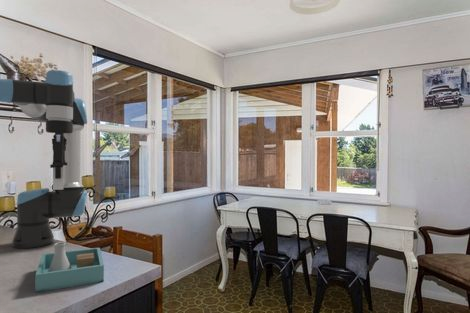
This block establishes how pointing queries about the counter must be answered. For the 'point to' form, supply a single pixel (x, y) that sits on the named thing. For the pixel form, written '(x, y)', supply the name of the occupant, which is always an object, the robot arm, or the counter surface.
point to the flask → (59, 258)
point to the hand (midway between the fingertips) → (59, 187)
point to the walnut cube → (85, 260)
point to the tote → (69, 271)
